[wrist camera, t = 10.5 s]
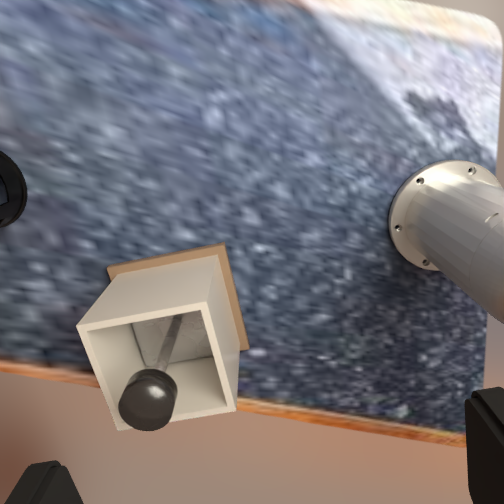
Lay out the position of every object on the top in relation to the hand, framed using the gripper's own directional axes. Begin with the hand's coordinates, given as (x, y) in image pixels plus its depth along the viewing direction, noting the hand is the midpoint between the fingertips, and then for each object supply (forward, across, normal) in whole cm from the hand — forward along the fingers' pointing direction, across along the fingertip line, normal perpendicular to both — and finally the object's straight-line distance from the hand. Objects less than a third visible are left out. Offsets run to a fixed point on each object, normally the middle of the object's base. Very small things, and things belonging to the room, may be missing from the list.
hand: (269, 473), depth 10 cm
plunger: (+35, +12, +13) cm, 39 cm away
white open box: (+38, +12, +13) cm, 42 cm away
